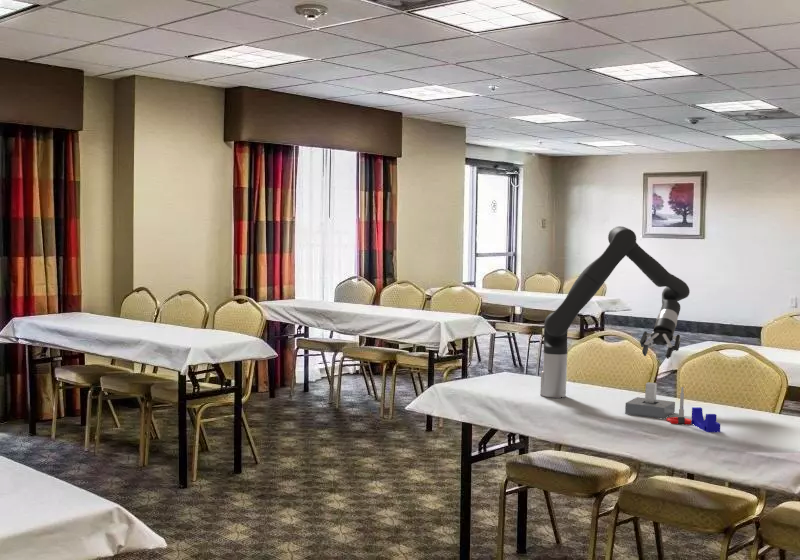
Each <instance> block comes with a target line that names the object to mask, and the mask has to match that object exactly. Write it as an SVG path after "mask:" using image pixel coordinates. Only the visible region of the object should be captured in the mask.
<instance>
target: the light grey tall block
mask: <svg viewBox="0 0 800 560" xmlns="http://www.w3.org/2000/svg"><path fill="white" fill-rule="evenodd" d="M657 387H658V382H649V381H648V382H646V383H645V390H644V391H645V393H644V394H645V395H644V396H645V397H644V398H645V403H649V404H656V400H657Z"/></svg>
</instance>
